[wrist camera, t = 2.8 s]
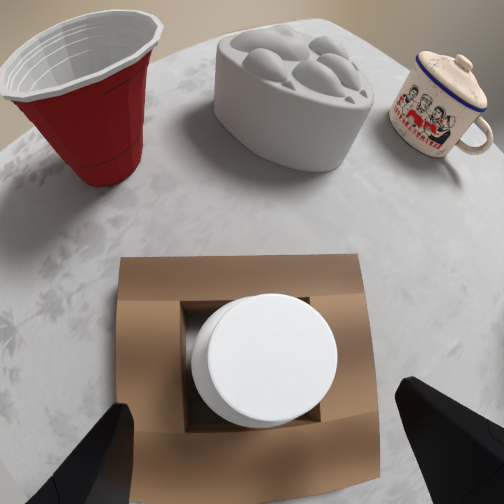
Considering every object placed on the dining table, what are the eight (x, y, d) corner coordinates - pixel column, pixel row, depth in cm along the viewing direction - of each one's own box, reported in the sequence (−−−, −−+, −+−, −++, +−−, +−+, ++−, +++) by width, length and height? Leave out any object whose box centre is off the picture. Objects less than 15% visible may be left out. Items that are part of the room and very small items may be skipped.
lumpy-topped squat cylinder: (277, 77, 29) (292, 12, 21) (368, 147, 26) (406, 80, 18) (199, 106, 26) (200, 28, 18) (295, 195, 23) (331, 110, 15)
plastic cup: (155, 223, 20) (114, 79, 9) (38, 210, 19) (-36, 105, 9) (188, 120, 25) (185, -1, 14) (85, 118, 24) (55, 16, 13)
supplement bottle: (230, 425, 16) (245, 476, 7) (183, 350, 17) (148, 323, 8) (304, 379, 17) (387, 376, 8) (258, 308, 19) (298, 242, 10)
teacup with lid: (372, 116, 28) (415, 33, 18) (403, 98, 31) (440, 32, 21) (453, 192, 26) (519, 122, 15) (471, 160, 29) (521, 102, 18)
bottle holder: (358, 466, 15) (380, 477, 12) (140, 484, 13) (128, 501, 10) (339, 270, 20) (357, 253, 18) (133, 274, 19) (120, 257, 16)
